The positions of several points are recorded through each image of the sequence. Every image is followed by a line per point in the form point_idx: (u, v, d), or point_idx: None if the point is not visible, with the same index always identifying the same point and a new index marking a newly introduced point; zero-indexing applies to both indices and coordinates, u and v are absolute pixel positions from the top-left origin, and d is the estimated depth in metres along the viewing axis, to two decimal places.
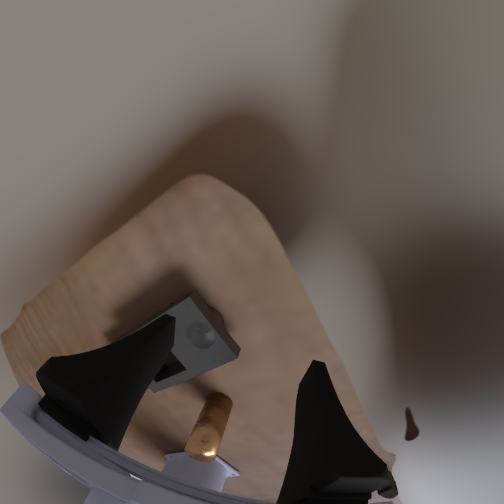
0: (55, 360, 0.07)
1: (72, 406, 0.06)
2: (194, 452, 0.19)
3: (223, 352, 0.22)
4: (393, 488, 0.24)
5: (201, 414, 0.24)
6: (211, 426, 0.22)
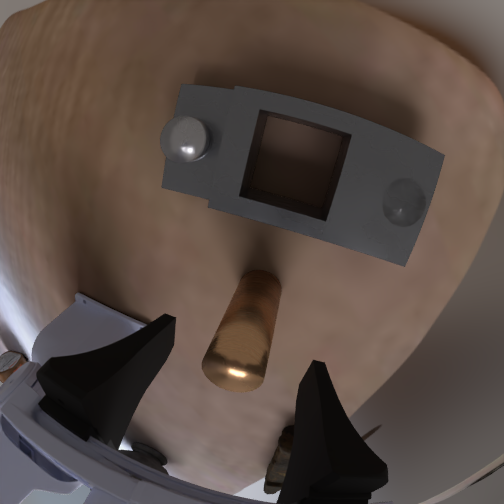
0: (55, 360, 0.07)
1: (72, 406, 0.06)
2: (227, 365, 0.12)
3: (401, 246, 0.13)
4: (281, 487, 0.27)
5: (252, 296, 0.15)
6: (270, 330, 0.14)
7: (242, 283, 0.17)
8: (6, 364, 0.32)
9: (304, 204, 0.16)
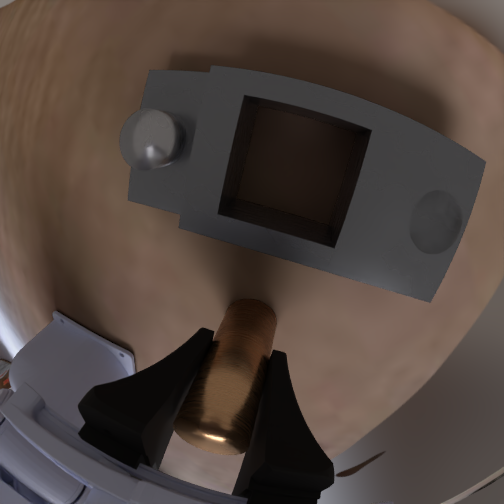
0: (99, 389, 0.06)
1: (124, 437, 0.06)
2: (203, 431, 0.08)
3: (428, 278, 0.09)
4: None
5: (238, 338, 0.12)
6: (259, 383, 0.10)
7: (228, 317, 0.14)
8: None
9: (305, 221, 0.12)
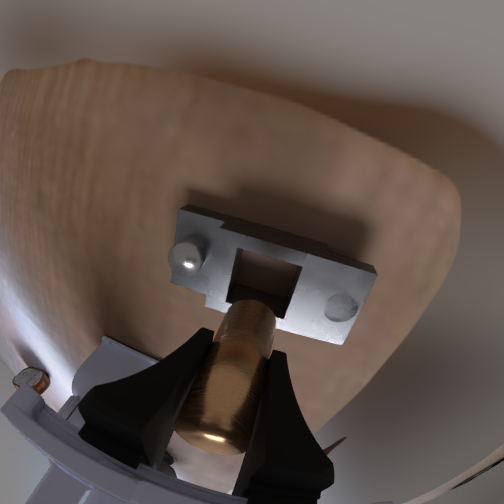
0: (99, 389, 0.06)
1: (124, 437, 0.06)
2: (202, 431, 0.08)
3: (338, 333, 0.20)
4: None
5: (238, 339, 0.12)
6: (259, 383, 0.11)
7: (227, 317, 0.14)
8: (29, 381, 0.39)
9: (273, 297, 0.22)
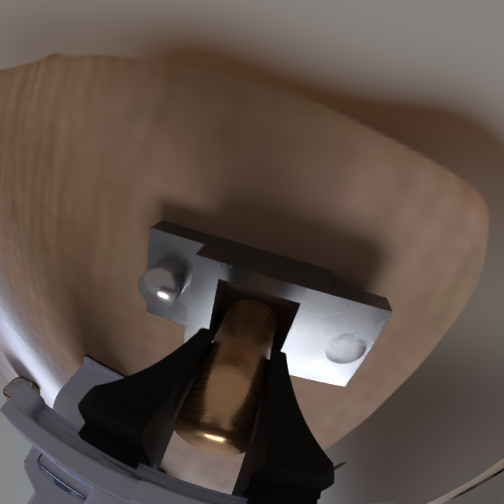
0: (99, 389, 0.06)
1: (124, 437, 0.06)
2: (203, 431, 0.08)
3: (341, 375, 0.16)
4: None
5: (238, 339, 0.12)
6: (259, 383, 0.11)
7: (227, 317, 0.14)
8: None
9: None
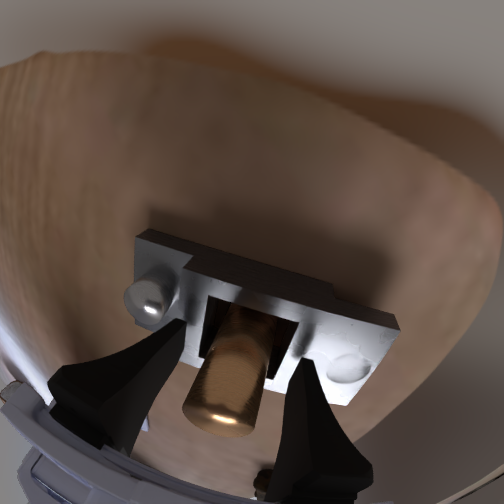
0: (66, 368, 0.07)
1: (86, 415, 0.06)
2: (211, 412, 0.09)
3: (343, 395, 0.14)
4: None
5: (243, 326, 0.13)
6: (263, 367, 0.11)
7: (232, 307, 0.15)
8: None
9: None
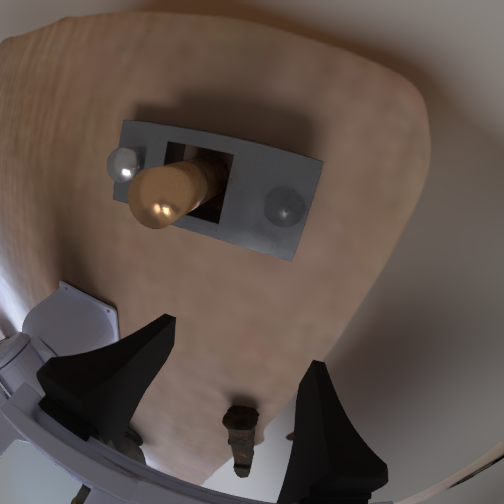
0: (55, 360, 0.07)
1: (72, 406, 0.06)
2: (148, 189, 0.12)
3: (285, 244, 0.17)
4: (249, 469, 0.31)
5: (190, 160, 0.16)
6: (200, 178, 0.14)
7: None
8: None
9: (214, 210, 0.20)
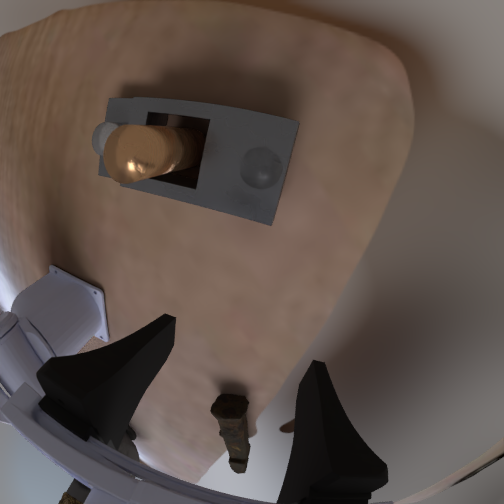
0: (54, 360, 0.07)
1: (72, 406, 0.06)
2: (121, 144, 0.11)
3: (263, 206, 0.16)
4: (245, 464, 0.30)
5: None
6: (174, 139, 0.14)
7: None
8: None
9: (194, 180, 0.19)
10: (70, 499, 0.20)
